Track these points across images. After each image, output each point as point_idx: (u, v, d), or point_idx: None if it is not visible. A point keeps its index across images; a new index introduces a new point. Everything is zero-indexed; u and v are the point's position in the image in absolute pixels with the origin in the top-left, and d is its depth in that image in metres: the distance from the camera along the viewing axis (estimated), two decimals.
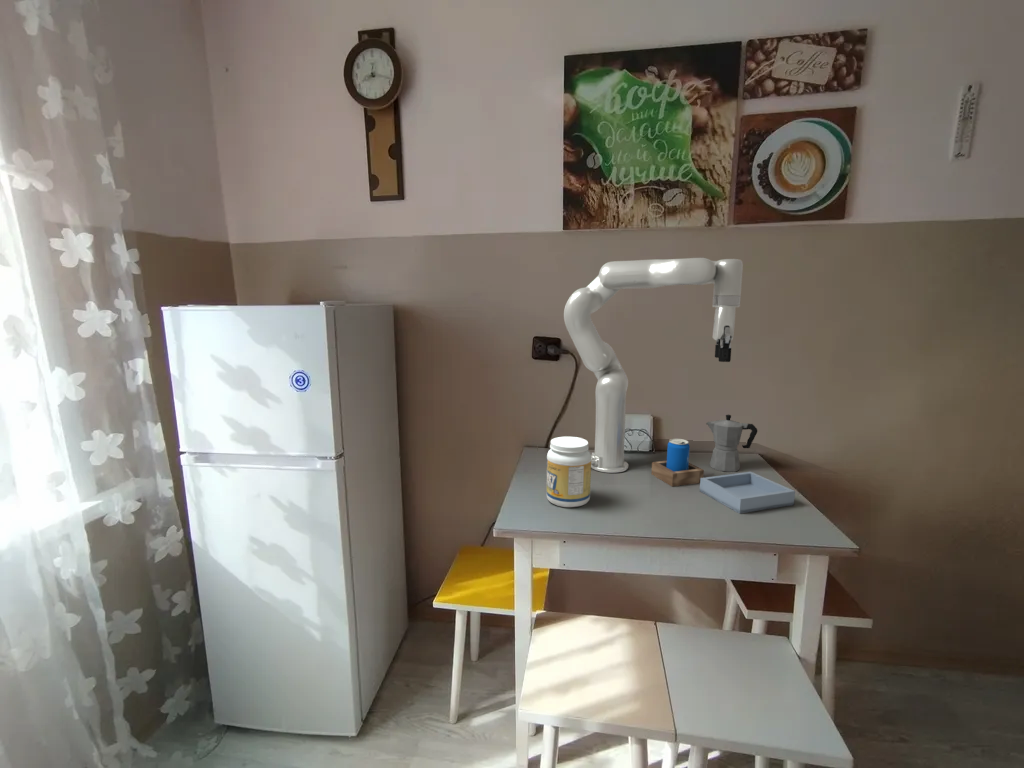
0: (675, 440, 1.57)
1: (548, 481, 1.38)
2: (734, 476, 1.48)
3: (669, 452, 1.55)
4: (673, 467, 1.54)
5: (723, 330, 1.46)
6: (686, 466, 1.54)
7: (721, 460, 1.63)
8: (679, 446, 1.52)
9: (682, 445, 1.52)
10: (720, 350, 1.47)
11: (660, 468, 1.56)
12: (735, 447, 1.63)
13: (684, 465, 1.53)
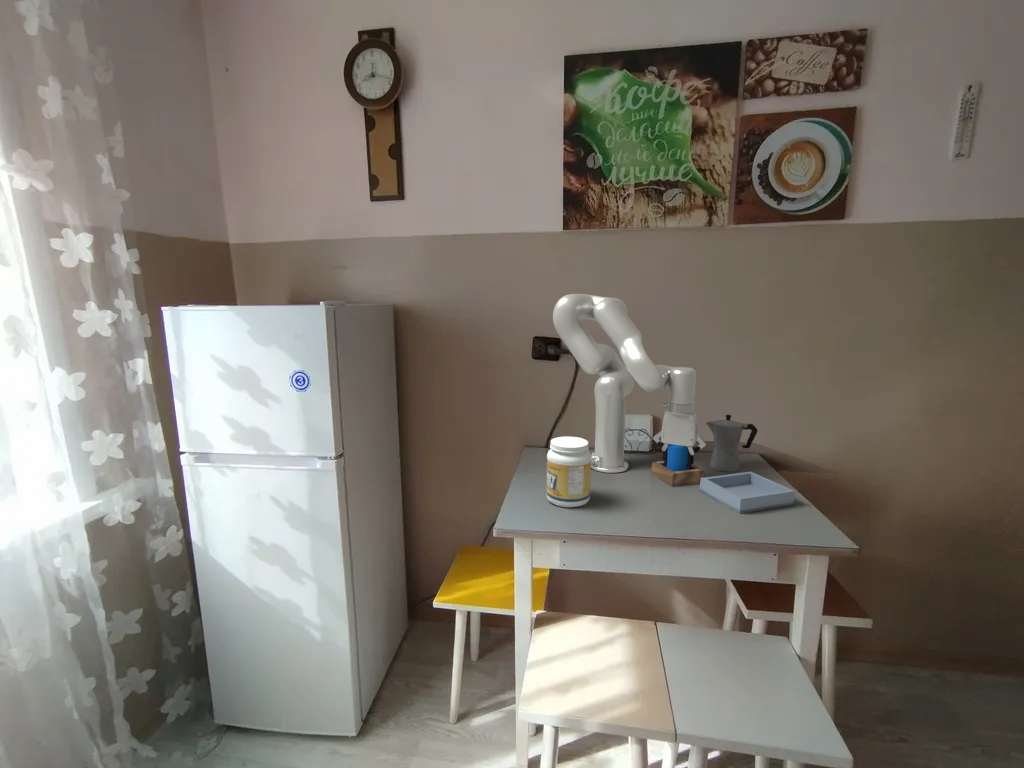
0: None
1: (548, 481, 1.38)
2: (734, 476, 1.48)
3: (669, 452, 1.55)
4: (673, 467, 1.54)
5: (696, 436, 1.52)
6: (686, 466, 1.54)
7: (721, 460, 1.63)
8: (679, 446, 1.52)
9: None
10: (690, 457, 1.53)
11: (660, 468, 1.56)
12: (735, 447, 1.63)
13: (684, 465, 1.53)
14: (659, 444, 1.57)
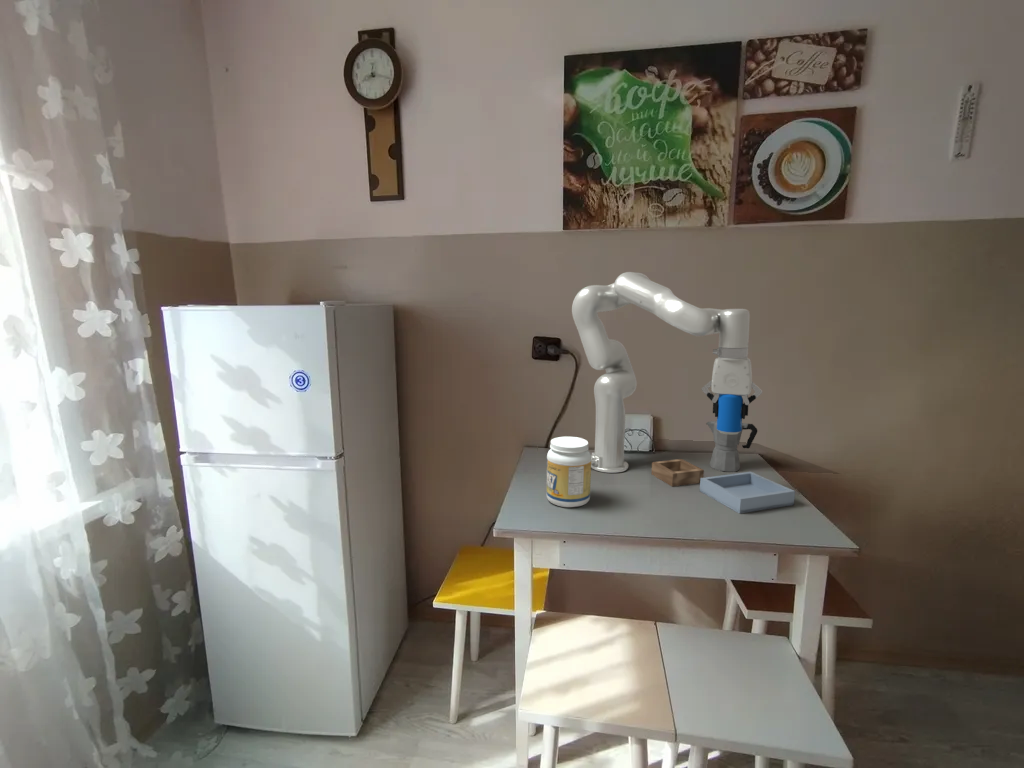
0: None
1: (548, 481, 1.38)
2: (734, 476, 1.48)
3: (721, 403, 1.41)
4: (726, 419, 1.40)
5: (751, 383, 1.38)
6: (740, 417, 1.40)
7: (721, 460, 1.63)
8: (732, 395, 1.39)
9: None
10: (745, 407, 1.39)
11: (660, 468, 1.56)
12: (735, 447, 1.63)
13: (738, 416, 1.39)
14: (709, 395, 1.43)
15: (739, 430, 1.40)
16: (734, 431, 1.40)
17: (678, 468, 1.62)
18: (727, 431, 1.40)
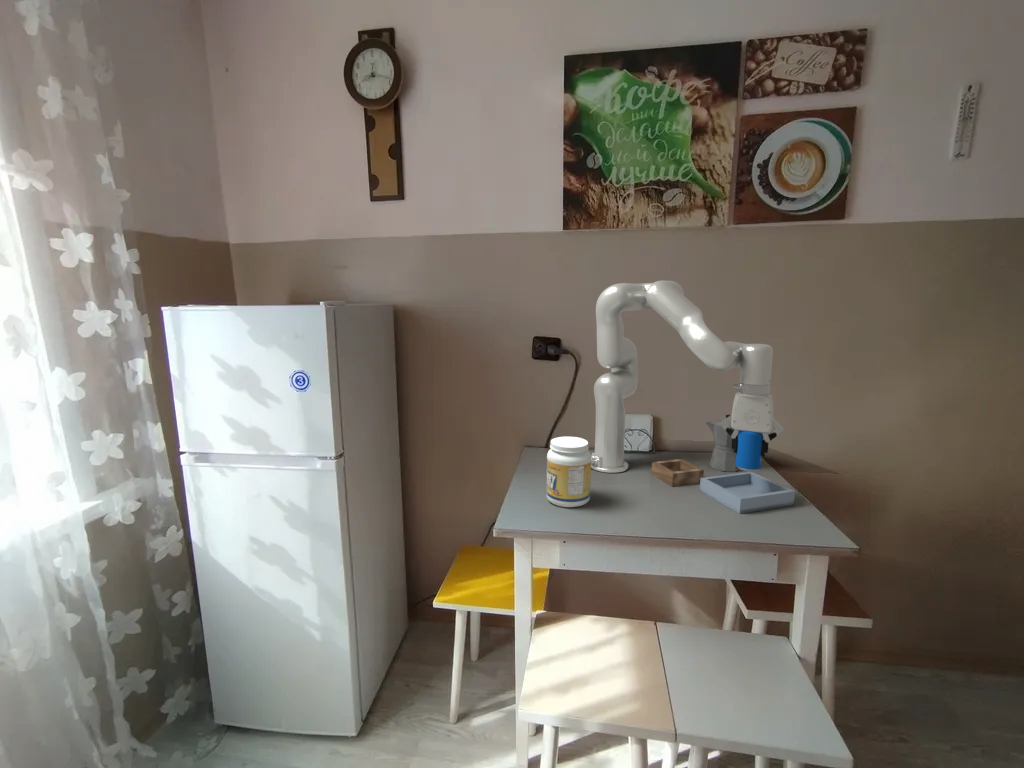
0: None
1: (548, 481, 1.38)
2: (734, 476, 1.48)
3: (740, 439, 1.38)
4: (745, 455, 1.37)
5: (772, 421, 1.35)
6: (760, 454, 1.37)
7: (721, 460, 1.63)
8: (753, 432, 1.36)
9: None
10: (765, 444, 1.36)
11: (660, 468, 1.56)
12: None
13: (758, 453, 1.37)
14: (728, 431, 1.40)
15: (758, 467, 1.38)
16: (753, 468, 1.37)
17: (678, 468, 1.62)
18: (746, 468, 1.38)
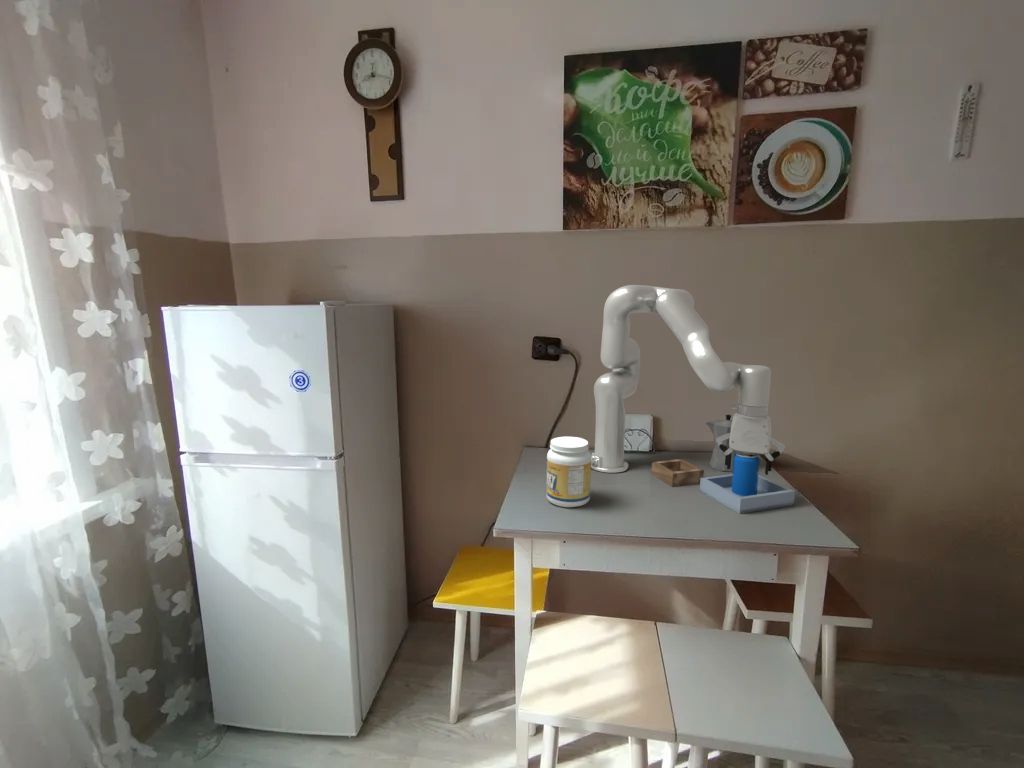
0: (742, 452, 1.42)
1: (548, 481, 1.38)
2: None
3: (736, 466, 1.40)
4: (741, 482, 1.39)
5: (770, 442, 1.36)
6: (756, 481, 1.39)
7: (721, 460, 1.63)
8: (748, 459, 1.37)
9: (751, 458, 1.37)
10: (768, 463, 1.37)
11: (660, 468, 1.56)
12: None
13: (753, 480, 1.38)
14: (721, 447, 1.42)
15: (754, 494, 1.39)
16: (749, 495, 1.39)
17: (678, 468, 1.62)
18: (742, 495, 1.39)
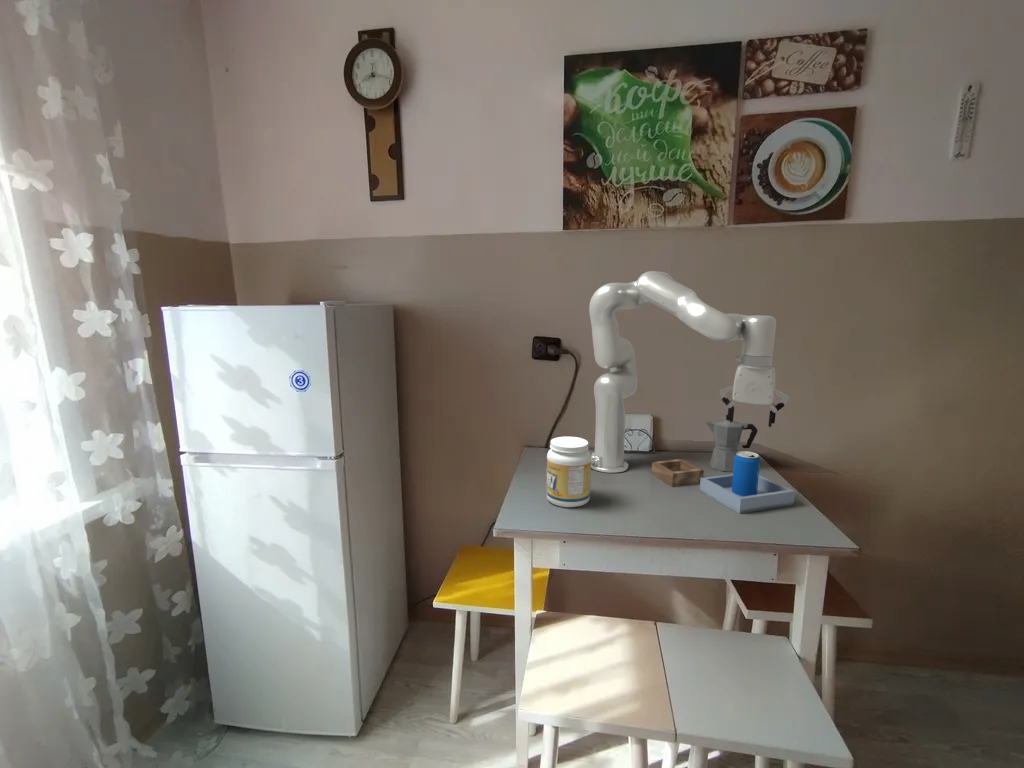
0: (743, 453, 1.41)
1: (548, 481, 1.38)
2: None
3: (736, 466, 1.39)
4: (741, 483, 1.39)
5: None
6: (756, 482, 1.38)
7: (721, 460, 1.63)
8: (749, 460, 1.37)
9: (752, 459, 1.37)
10: (772, 415, 1.34)
11: (660, 468, 1.56)
12: (735, 447, 1.63)
13: (754, 481, 1.38)
14: (724, 400, 1.40)
15: (754, 494, 1.39)
16: (749, 495, 1.39)
17: (678, 468, 1.62)
18: (742, 495, 1.39)
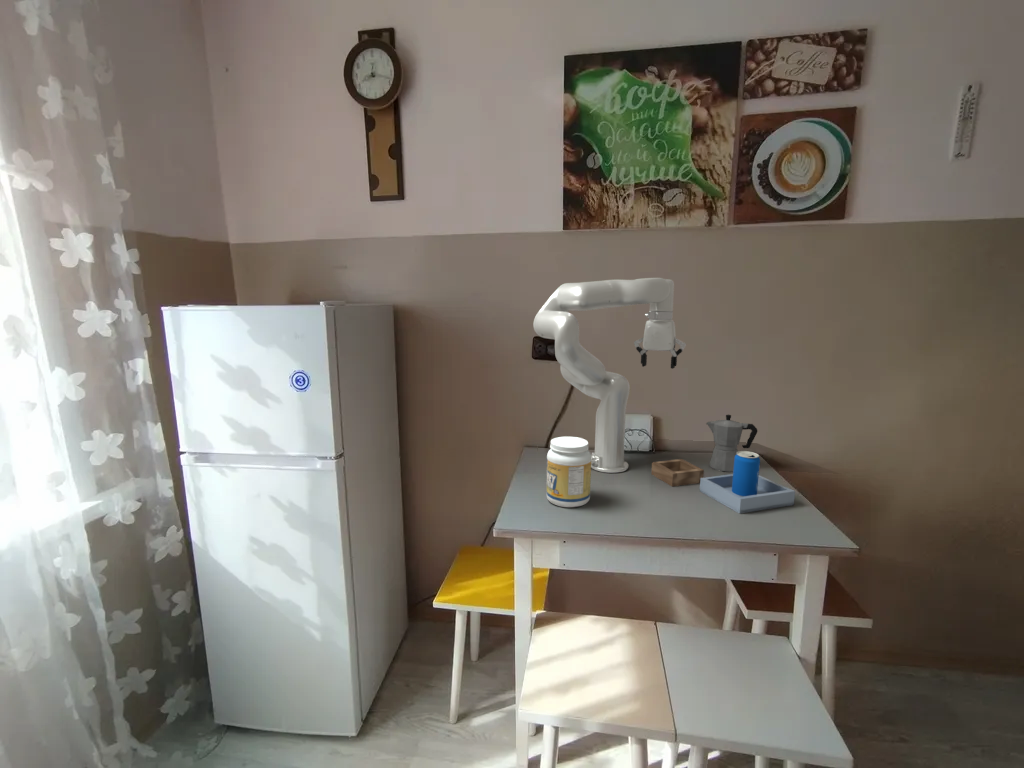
0: (743, 453, 1.41)
1: (548, 481, 1.38)
2: None
3: (736, 466, 1.39)
4: (741, 483, 1.39)
5: (674, 341, 1.68)
6: (756, 482, 1.38)
7: (721, 460, 1.63)
8: (749, 460, 1.37)
9: (752, 459, 1.37)
10: (673, 358, 1.68)
11: (660, 468, 1.56)
12: (735, 447, 1.63)
13: (754, 481, 1.38)
14: (638, 349, 1.74)
15: (754, 494, 1.39)
16: (749, 495, 1.39)
17: (678, 468, 1.62)
18: (742, 495, 1.39)
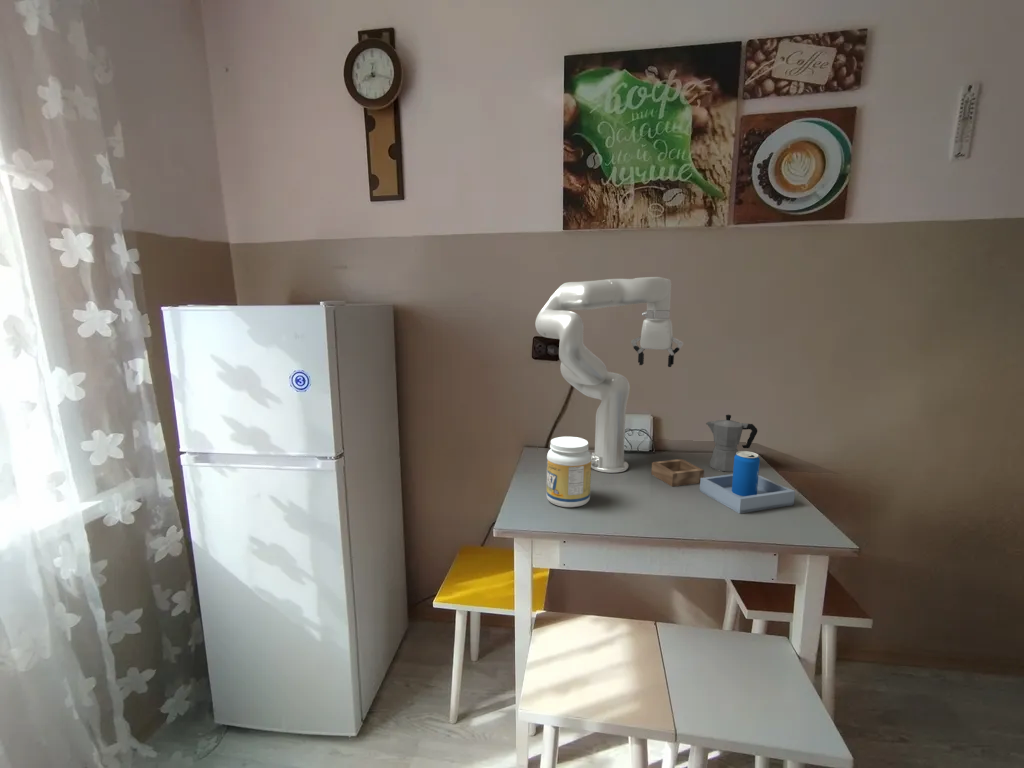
0: (743, 453, 1.42)
1: (548, 481, 1.38)
2: None
3: (736, 466, 1.40)
4: (741, 482, 1.39)
5: (671, 340, 1.69)
6: (756, 482, 1.38)
7: (721, 460, 1.63)
8: (748, 460, 1.37)
9: (752, 459, 1.37)
10: (670, 357, 1.70)
11: (660, 468, 1.56)
12: (735, 447, 1.63)
13: (753, 481, 1.38)
14: (635, 347, 1.75)
15: (754, 494, 1.39)
16: (749, 495, 1.39)
17: (678, 468, 1.62)
18: (742, 495, 1.39)
